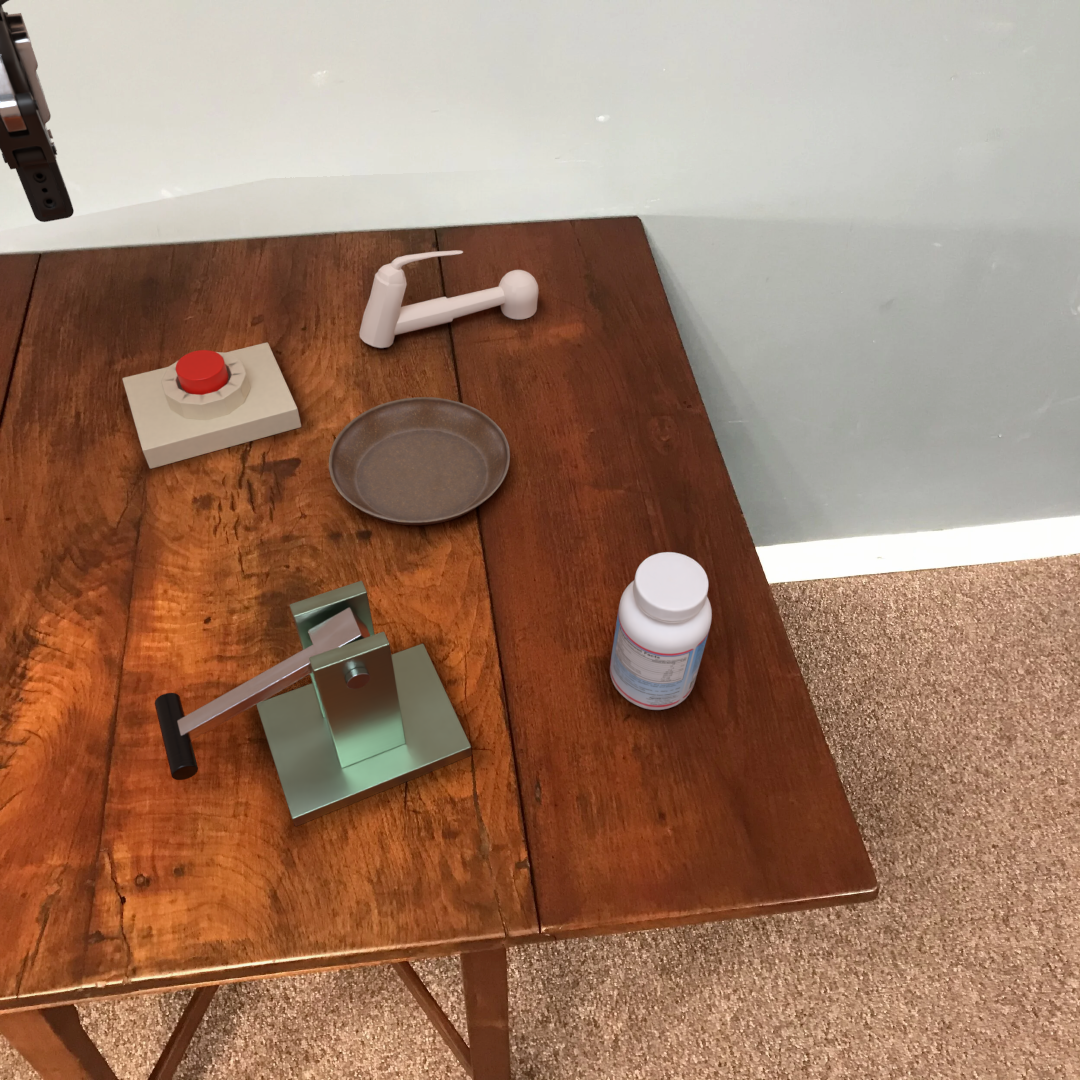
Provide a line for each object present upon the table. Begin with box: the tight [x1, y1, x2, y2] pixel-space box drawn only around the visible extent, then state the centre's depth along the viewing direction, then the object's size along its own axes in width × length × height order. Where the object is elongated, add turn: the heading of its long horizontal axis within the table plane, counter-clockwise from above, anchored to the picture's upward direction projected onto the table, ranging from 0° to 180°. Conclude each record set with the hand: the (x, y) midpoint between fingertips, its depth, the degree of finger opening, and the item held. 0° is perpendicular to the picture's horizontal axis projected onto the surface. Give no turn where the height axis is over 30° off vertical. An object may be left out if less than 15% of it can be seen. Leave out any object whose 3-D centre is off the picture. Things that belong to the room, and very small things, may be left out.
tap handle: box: [154, 607, 370, 781], centre depth 55 cm, size 13×5×2 cm, turn 115°
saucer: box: [328, 396, 511, 526], centre depth 78 cm, size 15×15×3 cm
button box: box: [121, 342, 302, 469], centre depth 82 cm, size 13×10×4 cm
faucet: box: [359, 249, 540, 349], centre depth 91 cm, size 4×18×10 cm, turn 114°
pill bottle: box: [609, 551, 713, 711], centre depth 63 cm, size 6×6×11 cm
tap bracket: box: [256, 580, 473, 827], centre depth 58 cm, size 12×9×13 cm
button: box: [176, 349, 228, 395], centre depth 80 cm, size 4×4×2 cm
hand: (55, 214), depth 57 cm, fingers closed
